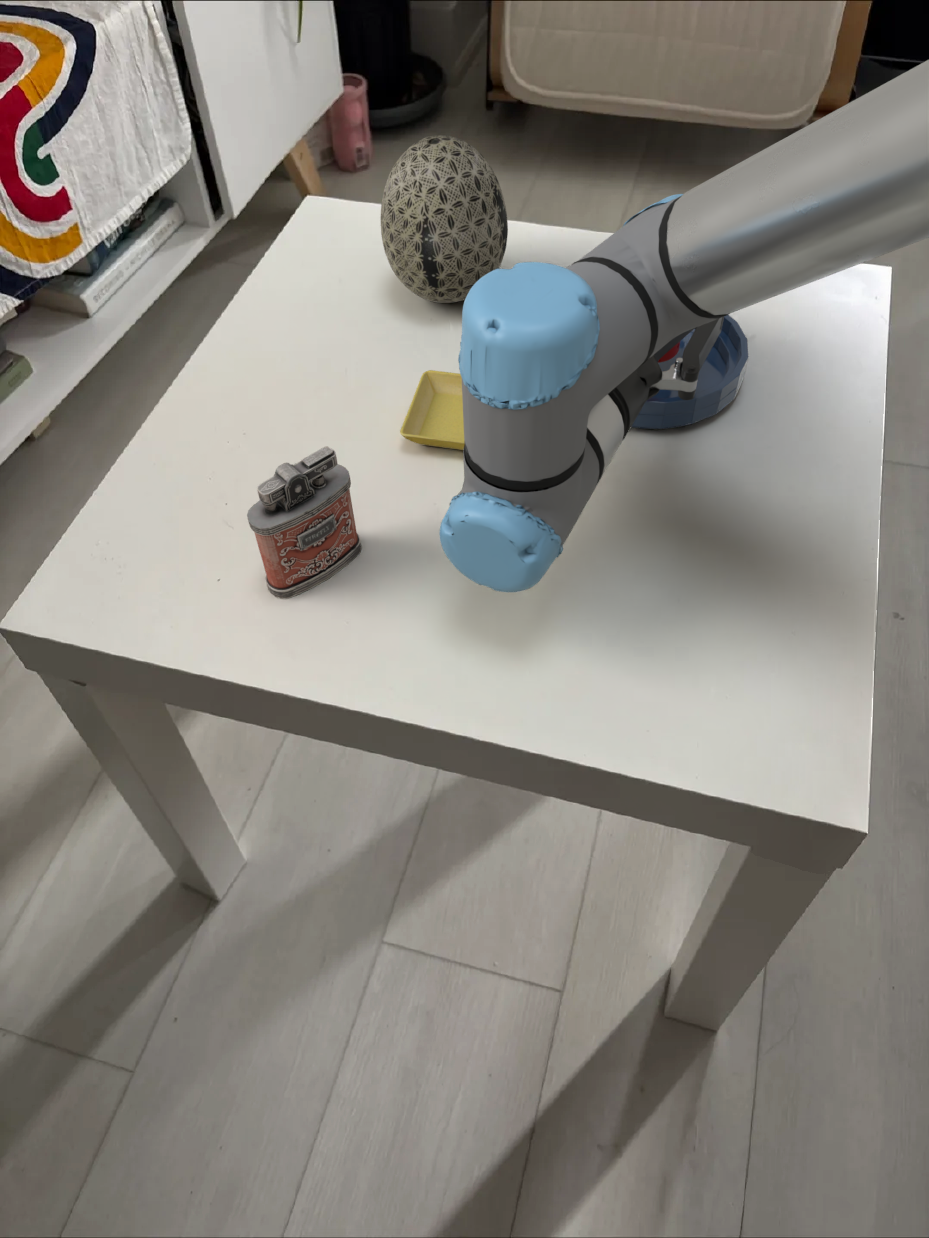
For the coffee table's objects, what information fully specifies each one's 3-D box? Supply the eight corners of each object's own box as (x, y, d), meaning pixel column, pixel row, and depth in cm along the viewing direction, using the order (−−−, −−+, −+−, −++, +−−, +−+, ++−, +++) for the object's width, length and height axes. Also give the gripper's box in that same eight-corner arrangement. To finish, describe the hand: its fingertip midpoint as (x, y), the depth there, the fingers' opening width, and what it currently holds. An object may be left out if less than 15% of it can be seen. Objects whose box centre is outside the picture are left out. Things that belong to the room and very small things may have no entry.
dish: (761, 347, 88) (770, 313, 86) (707, 456, 79) (715, 423, 77) (595, 305, 93) (598, 272, 90) (527, 404, 84) (528, 371, 81)
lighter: (283, 606, 71) (257, 509, 63) (258, 581, 72) (228, 483, 64) (371, 551, 74) (355, 452, 66) (344, 528, 75) (326, 428, 68)
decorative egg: (495, 335, 90) (494, 178, 79) (374, 323, 92) (356, 168, 80) (516, 266, 98) (518, 113, 86) (404, 256, 99) (391, 104, 87)
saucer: (501, 466, 79) (501, 447, 78) (400, 453, 81) (398, 433, 79) (521, 400, 85) (521, 380, 83) (425, 388, 86) (424, 368, 84)
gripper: (466, 422, 75) (580, 268, 88) (689, 489, 70) (775, 315, 82) (464, 340, 69) (586, 187, 82) (707, 407, 64) (796, 233, 77)
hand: (680, 252), depth 82 cm, fingers closed on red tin, 5 cm apart
